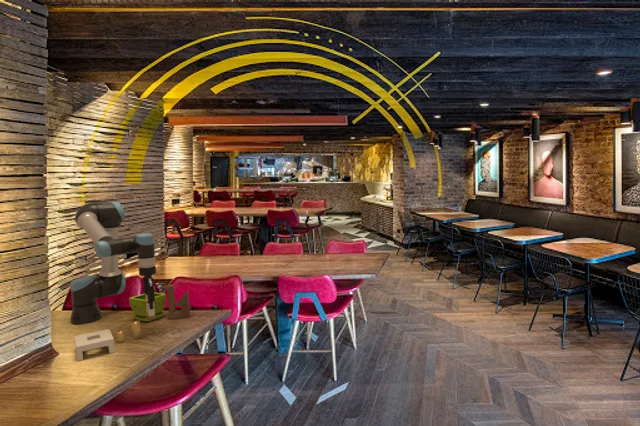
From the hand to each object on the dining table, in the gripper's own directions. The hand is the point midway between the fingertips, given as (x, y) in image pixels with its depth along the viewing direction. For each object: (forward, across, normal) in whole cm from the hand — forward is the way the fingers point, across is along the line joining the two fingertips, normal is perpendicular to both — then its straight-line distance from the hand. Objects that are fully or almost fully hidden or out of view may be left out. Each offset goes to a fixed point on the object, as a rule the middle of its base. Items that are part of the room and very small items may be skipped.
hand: (150, 314), depth 202 cm
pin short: (+10, +1, -14) cm, 17 cm away
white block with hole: (+10, +5, -25) cm, 27 cm away
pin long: (+2, 0, 0) cm, 2 cm away
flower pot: (+11, -27, +4) cm, 30 cm away
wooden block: (+10, -17, +17) cm, 27 cm away
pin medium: (+10, +1, -7) cm, 12 cm away
